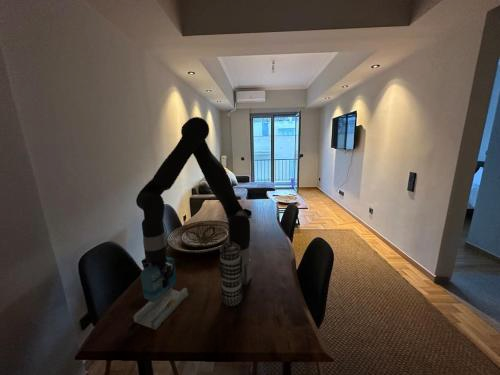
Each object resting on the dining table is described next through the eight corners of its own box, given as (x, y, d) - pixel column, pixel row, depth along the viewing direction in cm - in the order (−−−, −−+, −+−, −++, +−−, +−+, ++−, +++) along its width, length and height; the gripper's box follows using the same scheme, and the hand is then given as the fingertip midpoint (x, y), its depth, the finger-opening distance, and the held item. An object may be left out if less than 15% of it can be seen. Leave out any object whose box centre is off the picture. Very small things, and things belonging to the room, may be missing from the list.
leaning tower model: (246, 306, 82) (244, 248, 76) (223, 311, 79) (219, 252, 74) (240, 290, 90) (238, 237, 85) (219, 295, 88) (216, 241, 82)
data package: (152, 304, 73) (148, 274, 71) (143, 300, 75) (139, 271, 73) (177, 283, 84) (174, 256, 81) (168, 280, 86) (165, 254, 83)
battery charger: (239, 218, 175) (239, 214, 175) (233, 215, 183) (233, 211, 182) (251, 215, 183) (251, 211, 182) (245, 212, 190) (245, 208, 189)
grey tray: (188, 295, 88) (187, 287, 87) (155, 331, 71) (154, 322, 70) (169, 290, 91) (168, 282, 90) (134, 323, 75) (132, 314, 74)
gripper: (178, 243, 76) (182, 283, 80) (148, 237, 81) (153, 275, 85) (163, 253, 69) (168, 296, 73) (131, 246, 74) (138, 287, 78)
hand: (160, 285), depth 79 cm, fingers closed on data package, 4 cm apart
